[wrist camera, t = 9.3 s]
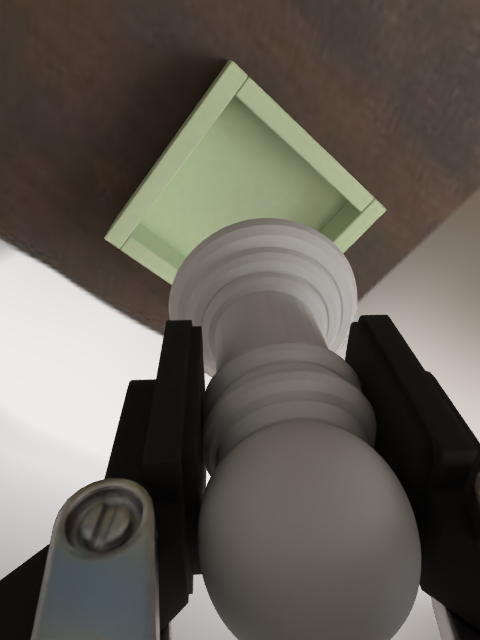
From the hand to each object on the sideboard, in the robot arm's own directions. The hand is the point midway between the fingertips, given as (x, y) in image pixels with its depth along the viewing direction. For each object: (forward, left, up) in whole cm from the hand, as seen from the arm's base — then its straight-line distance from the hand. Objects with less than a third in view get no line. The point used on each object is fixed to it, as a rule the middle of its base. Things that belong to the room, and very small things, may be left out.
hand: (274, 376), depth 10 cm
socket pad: (0, 0, -13) cm, 13 cm away
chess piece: (0, 0, -4) cm, 4 cm away
